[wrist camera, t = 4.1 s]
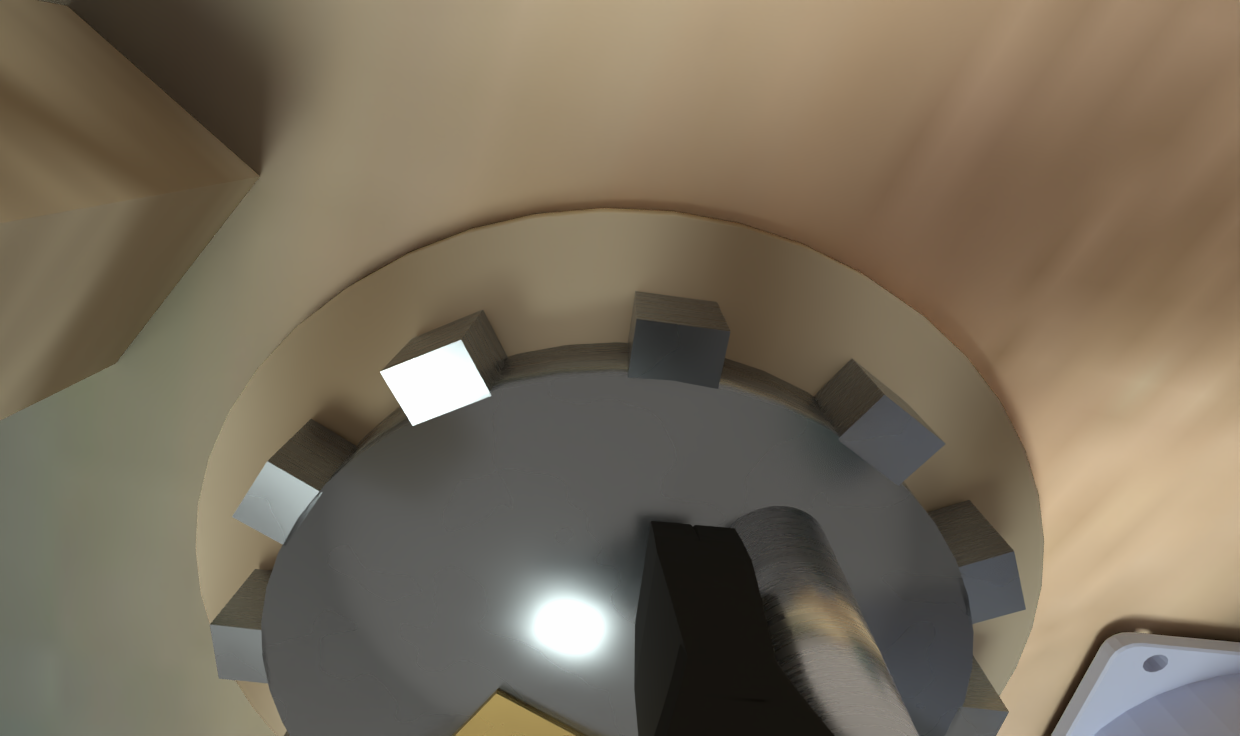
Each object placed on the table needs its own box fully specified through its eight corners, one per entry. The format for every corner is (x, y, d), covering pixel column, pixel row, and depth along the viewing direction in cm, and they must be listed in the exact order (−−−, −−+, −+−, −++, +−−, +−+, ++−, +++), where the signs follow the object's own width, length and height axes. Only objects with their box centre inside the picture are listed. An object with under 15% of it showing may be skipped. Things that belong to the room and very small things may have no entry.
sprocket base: (1179, 268, 11) (1336, 313, 8) (892, 875, 18) (933, 994, 15) (139, 150, 10) (-11, 162, 8) (264, 824, 17) (206, 939, 15)
